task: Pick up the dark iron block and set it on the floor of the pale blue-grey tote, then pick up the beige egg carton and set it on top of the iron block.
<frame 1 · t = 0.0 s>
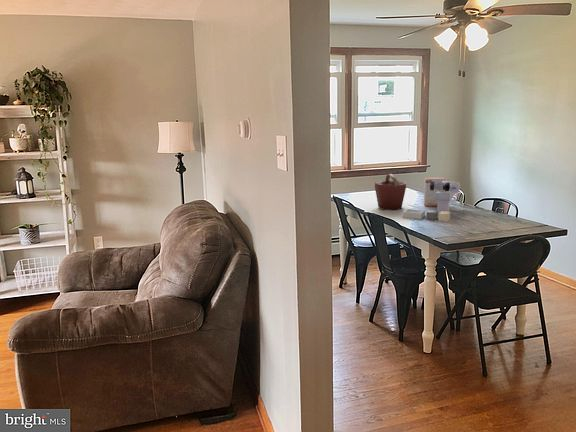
hand: (437, 187, 304), 22 cm above the table, tool horizontal, fingers open, 7 cm apart
metal block: (432, 218, 314), on the table
bucket: (389, 208, 351), on the table
carton: (444, 219, 310), on the table
cracker box: (433, 205, 355), on the table
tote: (413, 216, 320), on the table
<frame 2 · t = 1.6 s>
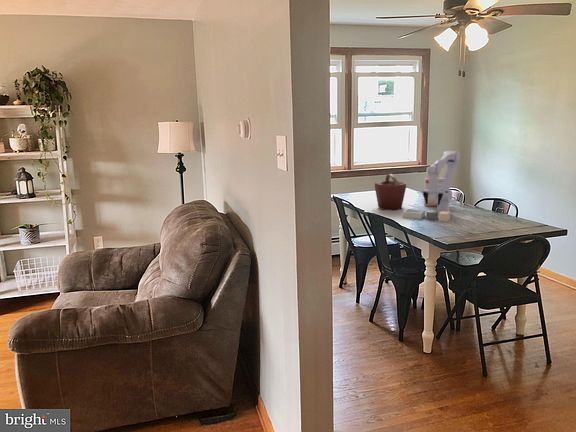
hand: (432, 204, 312), 9 cm above the table, tool pointing down, fingers open, 7 cm apart
nothing on the table moved.
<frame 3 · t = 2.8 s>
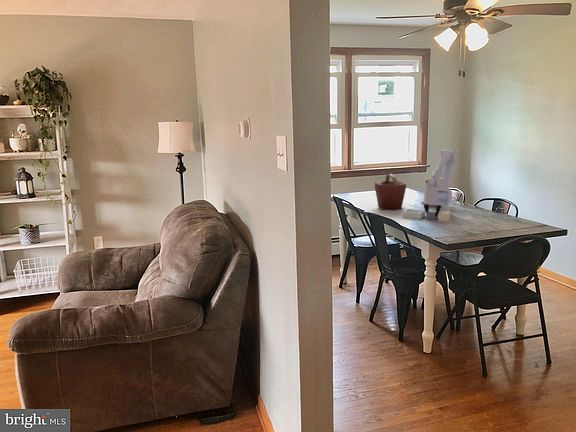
hand: (432, 216, 314), 1 cm above the table, tool pointing down, fingers closed on metal block, 5 cm apart
metal block: (432, 218, 314), on the table, touching gripper
everything else where it was.
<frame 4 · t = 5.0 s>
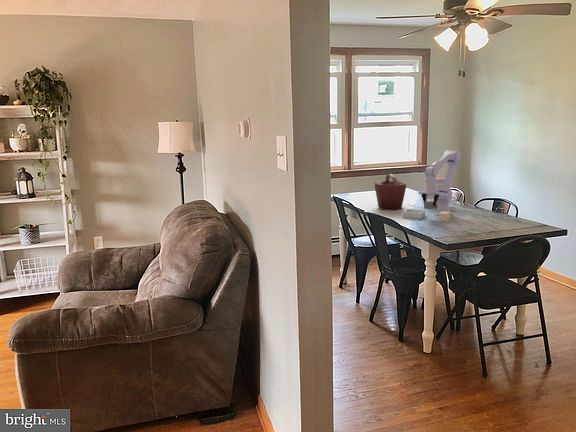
hand: (429, 205, 313), 8 cm above the table, tool pointing down, fingers closed on metal block, 5 cm apart
metal block: (429, 207, 313), point 7 cm above the table, touching gripper
everything else where it was.
when the fingers open (4 cm above the table, at t = 7.2 s): metal block drops 2 cm, resting on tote.
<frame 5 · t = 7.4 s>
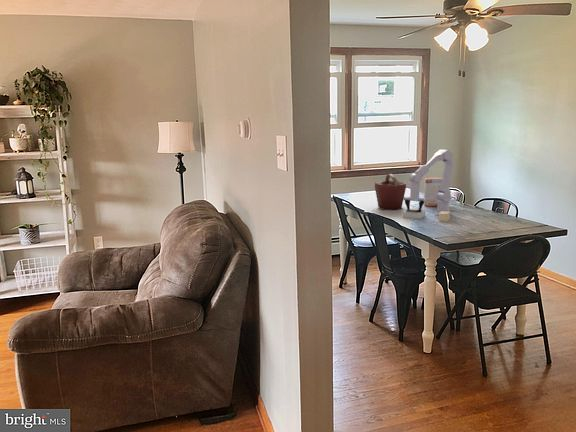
hand: (414, 211, 319), 4 cm above the table, tool pointing down, fingers open, 7 cm apart
metal block: (414, 215, 320), point 1 cm above the table, touching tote
everything else where it was.
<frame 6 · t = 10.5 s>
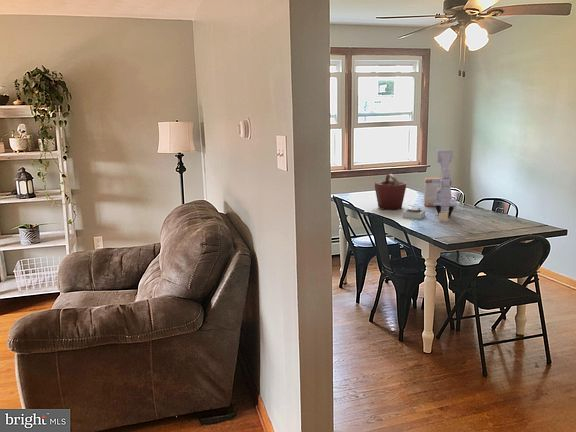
hand: (444, 217, 309), 1 cm above the table, tool pointing down, fingers closed on carton, 5 cm apart
carton: (444, 219, 310), on the table, touching gripper
everything else where it was.
when the fingers open (8 cm above the table, at t = 14.7 s): carton drops 1 cm, resting on metal block.
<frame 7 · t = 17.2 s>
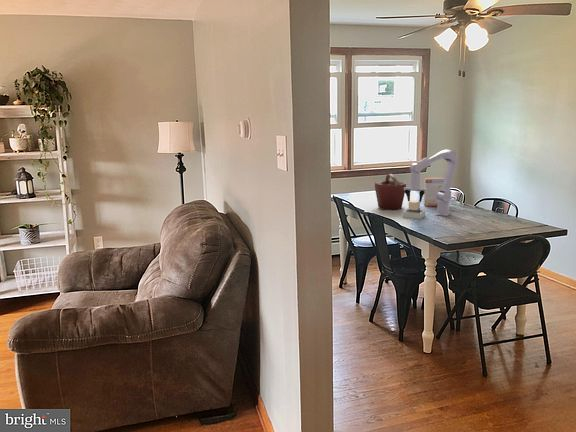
hand: (414, 201, 318), 10 cm above the table, tool pointing down, fingers open, 7 cm apart
metal block: (414, 215, 320), point 1 cm above the table, touching carton, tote
carton: (414, 208, 319), point 6 cm above the table, touching metal block
everything else where it was.
at the end: metal block 0.1 cm off-centre on the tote, point 0.6 cm above the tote's base; carton 0.1 cm off-centre on the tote, point 5.6 cm above the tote's base; carton tilted 0° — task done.
